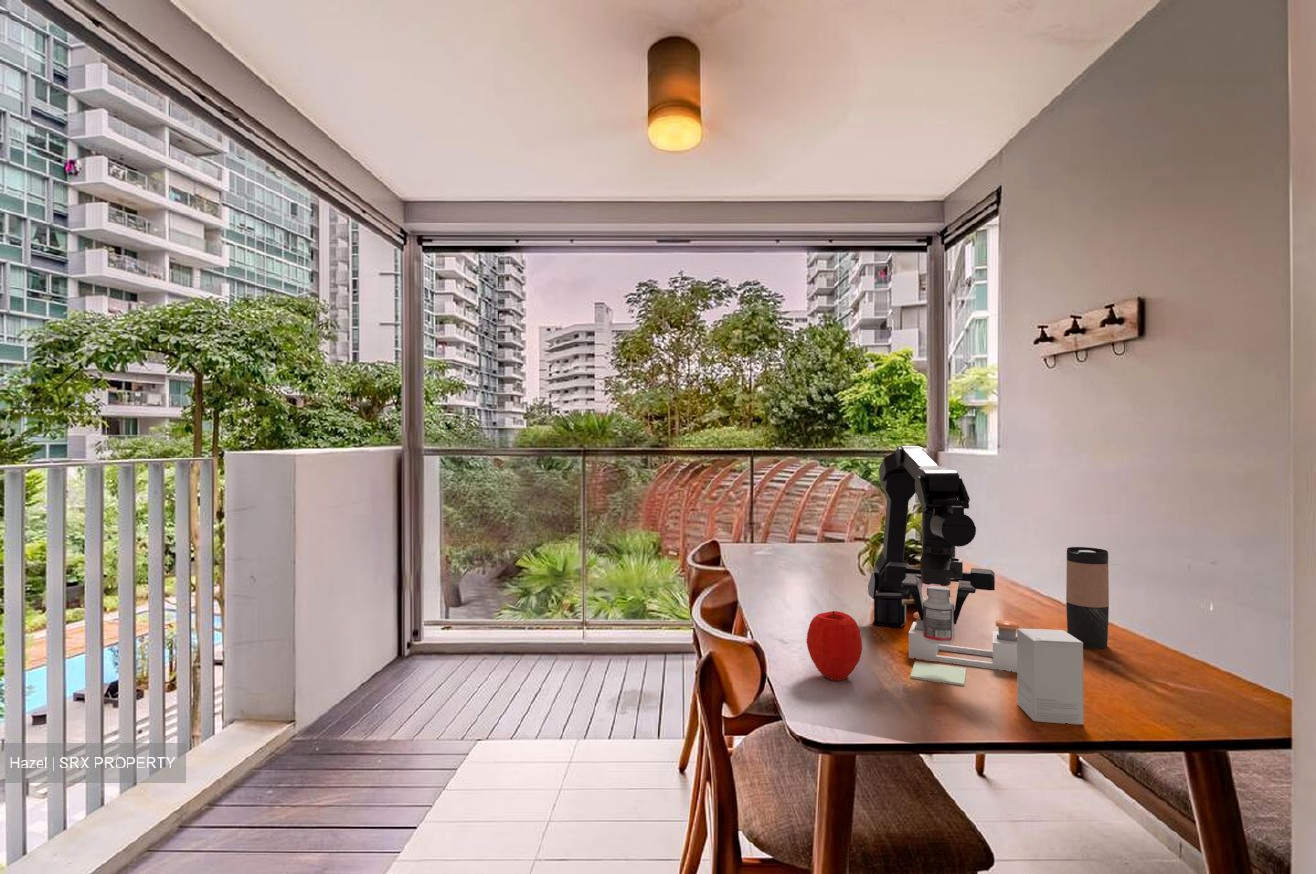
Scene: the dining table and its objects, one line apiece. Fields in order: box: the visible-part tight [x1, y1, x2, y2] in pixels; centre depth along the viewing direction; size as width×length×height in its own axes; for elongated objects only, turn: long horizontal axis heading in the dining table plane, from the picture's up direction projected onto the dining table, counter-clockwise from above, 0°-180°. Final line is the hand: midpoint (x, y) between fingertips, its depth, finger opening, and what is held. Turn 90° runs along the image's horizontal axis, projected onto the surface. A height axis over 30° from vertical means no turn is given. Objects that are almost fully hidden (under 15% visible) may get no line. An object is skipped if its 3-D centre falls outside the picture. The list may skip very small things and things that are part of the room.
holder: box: [908, 621, 1017, 673], centre depth 135 cm, size 20×9×5 cm, turn 64°
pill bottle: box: [923, 585, 955, 645], centre depth 126 cm, size 5×5×10 cm
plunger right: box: [995, 620, 1020, 642], centre depth 132 cm, size 4×4×5 cm
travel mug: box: [1065, 546, 1110, 650], centre depth 145 cm, size 8×8×20 cm
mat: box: [909, 661, 967, 687], centre depth 126 cm, size 9×9×1 cm
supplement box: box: [1016, 628, 1084, 725], centre depth 108 cm, size 7×7×13 cm
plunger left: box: [913, 611, 923, 631], centre depth 138 cm, size 4×4×5 cm
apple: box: [806, 610, 863, 682], centre depth 125 cm, size 10×10×12 cm
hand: (938, 621), depth 126 cm, fingers closed on pill bottle, 5 cm apart
